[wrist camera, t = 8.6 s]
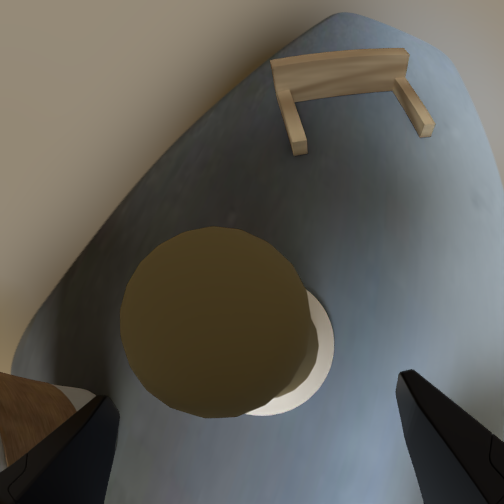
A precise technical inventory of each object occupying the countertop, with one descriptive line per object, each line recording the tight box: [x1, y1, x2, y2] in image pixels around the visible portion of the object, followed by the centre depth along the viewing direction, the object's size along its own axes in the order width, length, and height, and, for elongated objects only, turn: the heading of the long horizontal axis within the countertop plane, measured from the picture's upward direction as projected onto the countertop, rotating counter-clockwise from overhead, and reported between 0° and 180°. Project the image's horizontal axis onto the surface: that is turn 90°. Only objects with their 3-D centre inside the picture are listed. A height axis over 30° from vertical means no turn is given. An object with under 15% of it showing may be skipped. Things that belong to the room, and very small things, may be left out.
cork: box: [120, 226, 319, 418], centre depth 12 cm, size 6×6×11 cm
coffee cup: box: [0, 372, 117, 472], centre depth 10 cm, size 8×8×15 cm
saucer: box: [245, 290, 334, 416], centre depth 17 cm, size 8×8×1 cm
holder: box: [270, 48, 435, 156], centre depth 20 cm, size 6×11×4 cm, turn 98°
